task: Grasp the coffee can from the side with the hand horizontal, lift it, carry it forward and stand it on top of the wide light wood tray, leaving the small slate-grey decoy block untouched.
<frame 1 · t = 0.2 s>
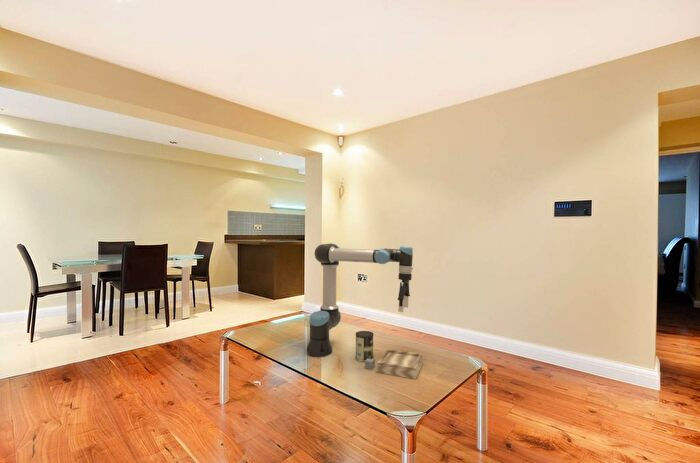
hand: (403, 309, 183), 27 cm above the table, tool pointing down, fingers open, 13 cm apart
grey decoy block: (369, 367, 167), on the table
light wood tray: (400, 367, 167), on the table
coffee can: (364, 358, 180), on the table
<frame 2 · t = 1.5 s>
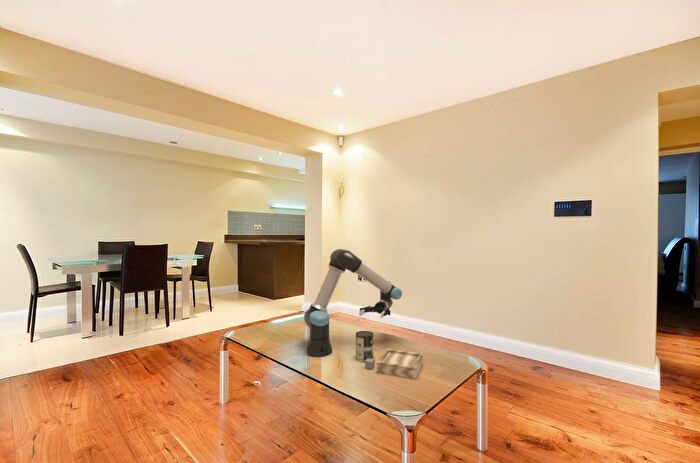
hand: (370, 314, 190), 22 cm above the table, tool horizontal, fingers open, 13 cm apart
nothing on the table moved.
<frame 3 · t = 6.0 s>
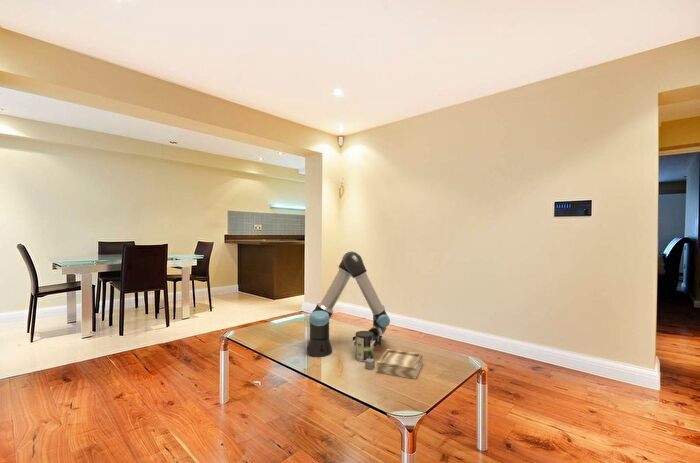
hand: (361, 345, 176), 9 cm above the table, tool horizontal, fingers closed on coffee can, 10 cm apart
coffee can: (364, 358, 180), on the table, touching gripper
everything else where it was.
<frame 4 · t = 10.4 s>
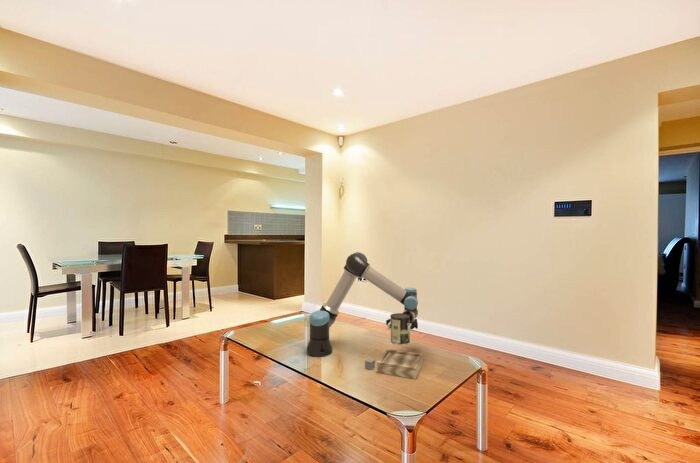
hand: (398, 328, 163), 22 cm above the table, tool horizontal, fingers closed on coffee can, 10 cm apart
coffee can: (400, 342, 167), point 13 cm above the table, touching gripper
everything else where it was.
when the fingers open (13 cm above the table, at t = 15.0 s): coffee can stays where it is, resting on light wood tray.
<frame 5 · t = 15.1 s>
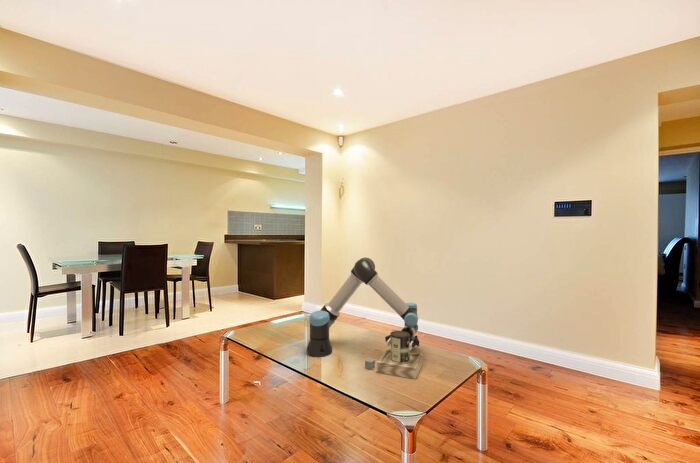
hand: (398, 346, 164), 13 cm above the table, tool horizontal, fingers open, 11 cm apart
coffee can: (400, 360, 167), point 4 cm above the table, touching light wood tray
everything else where it was.
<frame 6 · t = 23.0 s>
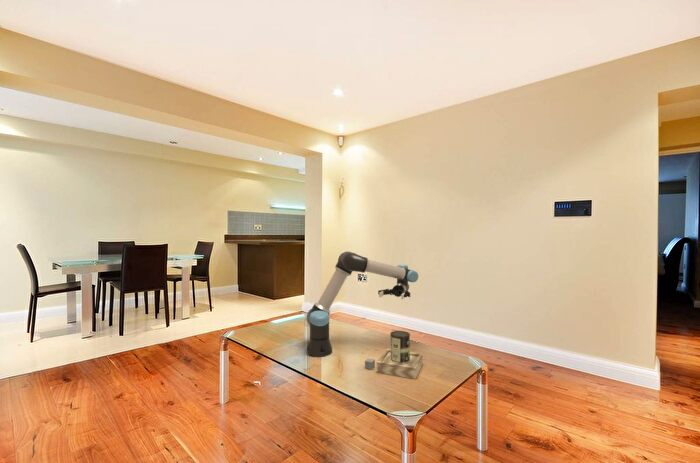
hand: (390, 296, 188), 34 cm above the table, tool horizontal, fingers open, 13 cm apart
nothing on the table moved.
at the end: coffee can inside the target area on the light wood tray (0.1 cm from its centre), point 3.8 cm above the light wood tray's base; coffee can tilted 0°; the gripper is holding nothing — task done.
